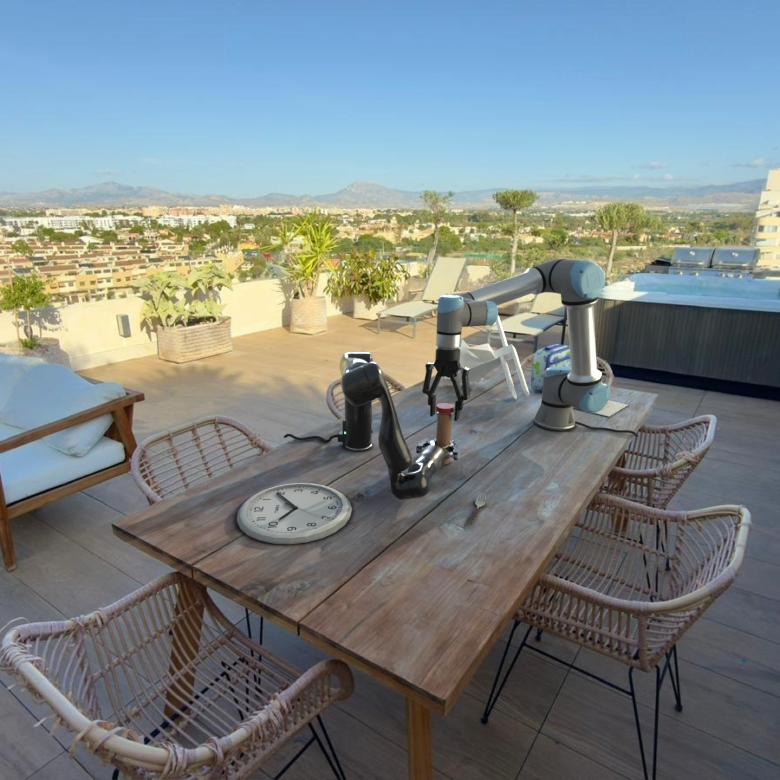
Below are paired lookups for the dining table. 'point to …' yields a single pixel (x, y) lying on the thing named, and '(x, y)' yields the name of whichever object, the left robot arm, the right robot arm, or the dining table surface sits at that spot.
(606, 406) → the invitation card
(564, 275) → the right robot arm
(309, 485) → the wall clock
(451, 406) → the lid
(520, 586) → the dining table surface
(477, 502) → the fork
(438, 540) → the dining table surface
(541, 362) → the lunch box
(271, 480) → the dining table surface
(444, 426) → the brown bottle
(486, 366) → the white plastic object
